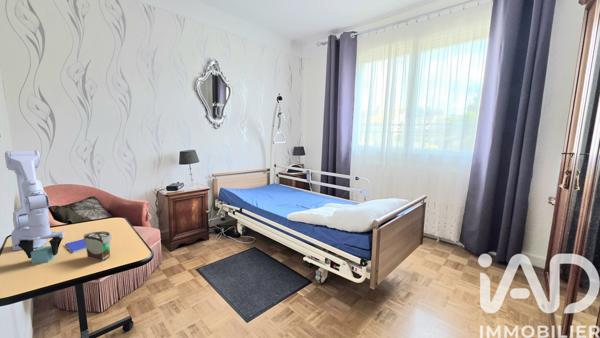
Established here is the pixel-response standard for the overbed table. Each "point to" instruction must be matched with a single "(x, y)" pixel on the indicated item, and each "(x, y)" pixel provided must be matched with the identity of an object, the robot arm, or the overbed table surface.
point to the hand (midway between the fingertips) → (43, 255)
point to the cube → (42, 255)
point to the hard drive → (76, 246)
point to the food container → (98, 245)
